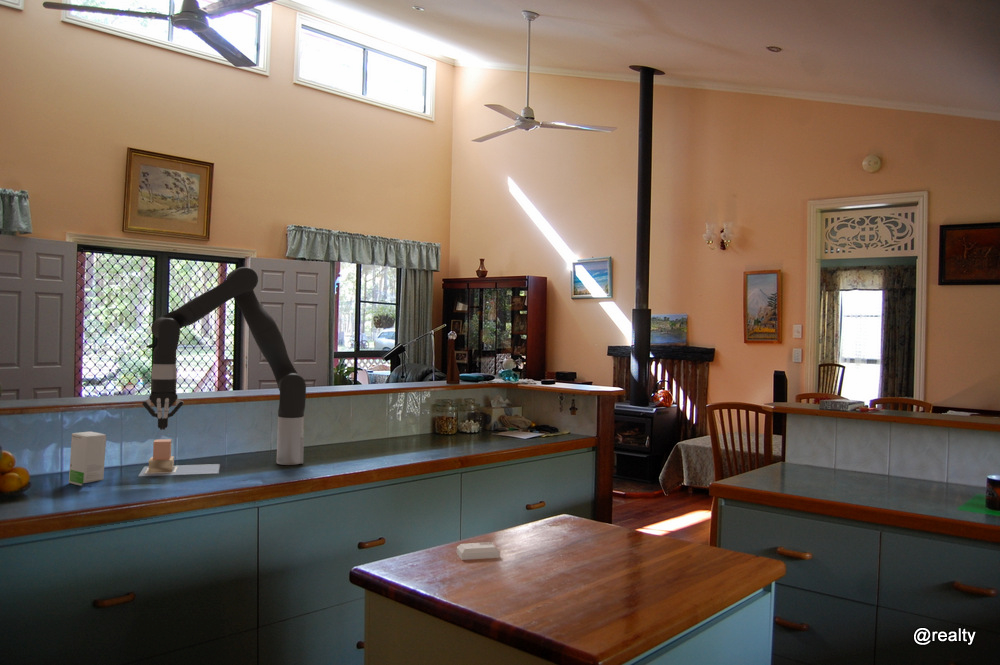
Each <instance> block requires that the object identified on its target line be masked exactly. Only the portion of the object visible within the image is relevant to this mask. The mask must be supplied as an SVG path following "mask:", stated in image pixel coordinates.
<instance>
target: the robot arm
mask: <svg viewBox="0 0 1000 665" xmlns="http://www.w3.org/2000/svg"><path fill="white" fill-rule="evenodd" d="M258 282H259V276H258V274H257V273H256V271H255V270H254V269H253V268H251V267H248V266H241V267H238V268H236V269H234V270H232V271H229V273H228V274H227V276H226V278H225V280H224V281H222V283H220V284H218V285H217V286H215V287H213V288H211V289H210V290H207V291H206V292H204V293H202V294H200V295H198V296H196V297H194V298H193V299H191V300H189V301H187V302H185V303H183V305H181V306H180V307H178V308H176V309H175V310H171V311H170V312H168V313H165V314H163V315H161V316H160V317H158V318H157V319H155V320H154V321H153V323H152V324H151V327H150V329H151V330H150V331H151V333H152V335H153V336H154V337H155V338H157V345H156V346H155V348H154V349H153V353H152V368H151V375H150V376H151V385H150V386H151V389H150V395H149V397H148V399H146V400H144V401H142V406H143V407H144V409H146V411H147V412H148V413H149V414H150V415H151V417H153V418H157V428H158V429H159V431H163V430H164V431H165V430H166V428H168V427H169V419H170V417H173V416H175V414H176V413H177V412H178V411H179V409H180V408H181V407H183V405H184V402H185V401H183V400H181V399H179V398H178V395H177V377H178V376H177V374H178V373H177V372H178V370H177V349H178V346H179V341H180V338H181V337H180V336H181V329H182V328H184V327H187V326H192V325H193V324H195V323H197V322H199V321H200V320H201V319H203V318H204V317H206V316H208V315H210V313H212V312H213V311H215V310H216V309H217V308H219V307H221V306H223V305H224V304H225V303H227V302H229V301H230V300H232V299H234V301H235V302H236V305H237V307H238V308H239V309H240V311H241V313H242V316H243V318H244V320H245V322H246V324H247V327H248V329H249V330H250V331H249V332H250V333H251V335H252V337H253V339H254V341H255V343H256V345H257V347H258V349H259V350H260V352H261V353H262V356H263V357H264V358H265V360H266V362H267V363H268V365H269V367H270V368H271V371H272V374H273V376H274V379H275V382H276V384H277V387H278V390H279V401H278V402H279V404H278V410H277V433H276V434H277V435H276V436H277V437H276V438H277V439H276V440H277V442H276V464H277V465H281V466H282V465H285V466H289V465H291V466H292V465H294V466H295V465H299V464H300V465H301V464H302V465H303V464H304V448H305V447H304V445H305V444H304V443H305V439H304V429H305V428H304V427H305V426H304V423H305V411H306V410H305V409H306V399H307V398H306V395H307V384H306V380H305V378H304V377H303V376H301V375H300V374H299V373H298V372H297V370H296V368H295V367H294V365H293V364H292V362H291V360H290V358H289V354H288V352H287V348H286V344H285V340H284V337H283V336H282V334H281V332H280V331H281V330H280V329H279V327H278V325H277V323H276V321H275V320H274V318H273V317H272V316H271V315H270V313H268V311H267V310H266V309H265V308H264V307H263V305H262V304H261V303H260V302H259V300H258V297H257V296H256V294H255V291H254V289H255V288H256V287H257V286H258ZM152 404H153V406H154V407H155V408H156V411H155V409H154V408H153V407H152V406H151V405H152ZM174 404H175V407H174V408H173V409H172V410H171V411H170V408H171V407H172V406H173V405H174ZM169 411H170V412H169Z"/></svg>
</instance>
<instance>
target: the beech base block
mask: <svg viewBox="0 0 1000 665" xmlns="http://www.w3.org/2000/svg"><path fill="white" fill-rule="evenodd" d="M148 466H149V470H148V473H155V472H172V471H173V468H174V466H175V456H173V455H171V458H170V460H153V456H151V457H150V458H149V460H148Z"/></svg>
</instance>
